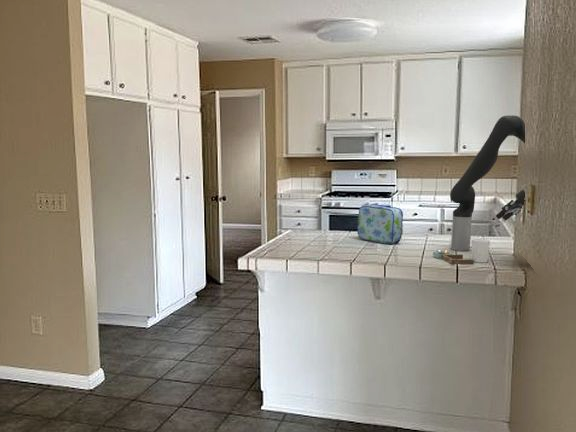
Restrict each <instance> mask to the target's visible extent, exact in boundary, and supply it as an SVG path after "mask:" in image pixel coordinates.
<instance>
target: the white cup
mask: <svg viewBox="0 0 576 432" xmlns="http://www.w3.org/2000/svg"><path fill="white" fill-rule="evenodd" d="M490 241H491V240H490V239H488V238H487V239H486V238H472V239H471V259H473V260H474V263H481V264H483V263H488V257H489V252H490Z"/></svg>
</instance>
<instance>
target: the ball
mask: <svg viewBox="0 0 576 432" xmlns="http://www.w3.org/2000/svg"><path fill="white" fill-rule="evenodd" d="M435 252H436V253H438V254H443V250H442V249H437V250H436V251H435Z"/></svg>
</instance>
